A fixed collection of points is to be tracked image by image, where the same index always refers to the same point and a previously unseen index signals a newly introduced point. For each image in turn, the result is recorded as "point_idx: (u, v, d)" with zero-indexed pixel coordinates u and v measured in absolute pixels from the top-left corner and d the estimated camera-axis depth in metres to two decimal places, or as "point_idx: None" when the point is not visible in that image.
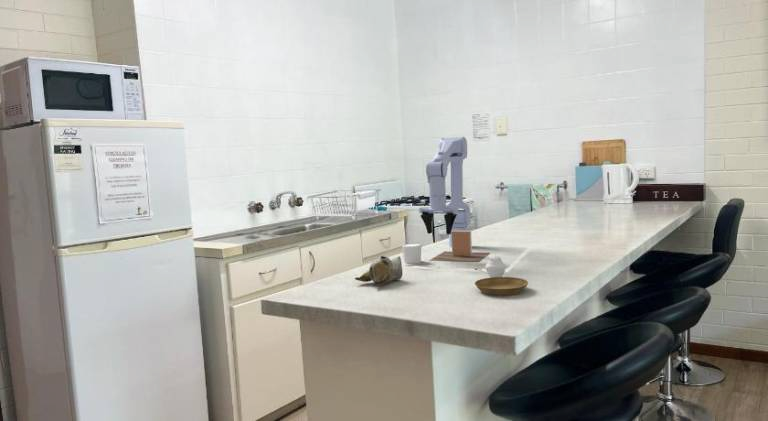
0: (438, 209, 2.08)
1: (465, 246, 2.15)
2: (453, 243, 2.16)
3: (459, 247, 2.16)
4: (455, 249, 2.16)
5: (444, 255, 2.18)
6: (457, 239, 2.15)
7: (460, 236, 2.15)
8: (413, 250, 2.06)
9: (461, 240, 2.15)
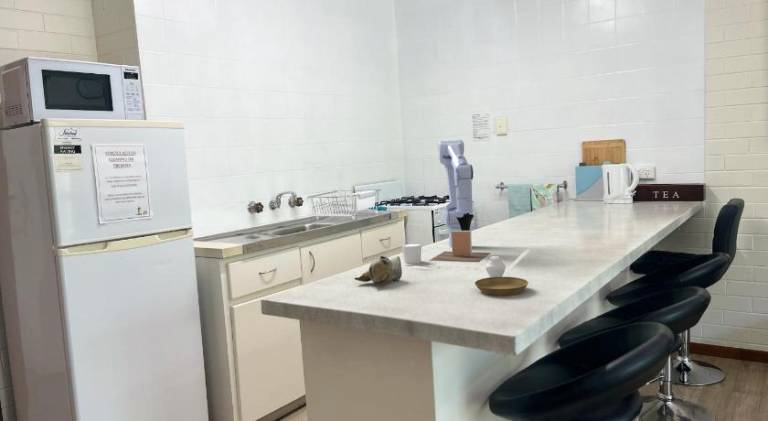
0: (456, 210, 2.19)
1: (465, 246, 2.15)
2: (453, 243, 2.16)
3: (459, 247, 2.16)
4: (455, 249, 2.16)
5: (444, 255, 2.18)
6: (457, 239, 2.15)
7: (460, 236, 2.15)
8: (413, 250, 2.06)
9: (461, 240, 2.15)
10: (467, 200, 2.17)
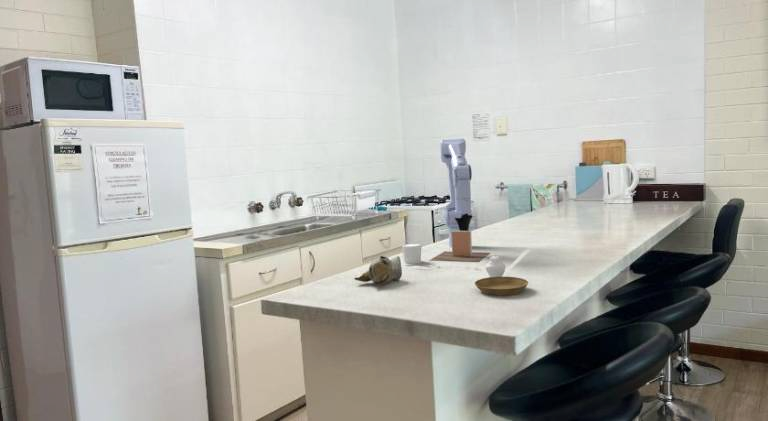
0: (455, 211, 2.18)
1: (465, 246, 2.15)
2: (453, 243, 2.16)
3: (459, 247, 2.16)
4: (455, 249, 2.16)
5: (444, 255, 2.18)
6: (457, 239, 2.15)
7: (460, 236, 2.15)
8: (413, 250, 2.06)
9: (461, 240, 2.15)
10: (466, 201, 2.15)
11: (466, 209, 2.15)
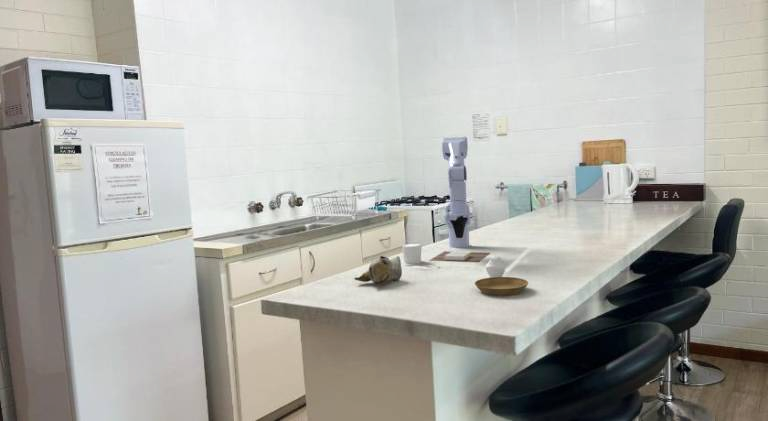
0: (450, 213, 2.12)
1: None
2: None
3: None
4: None
5: (444, 255, 2.18)
6: None
7: None
8: (413, 250, 2.06)
9: None
10: (461, 202, 2.09)
11: (461, 211, 2.10)
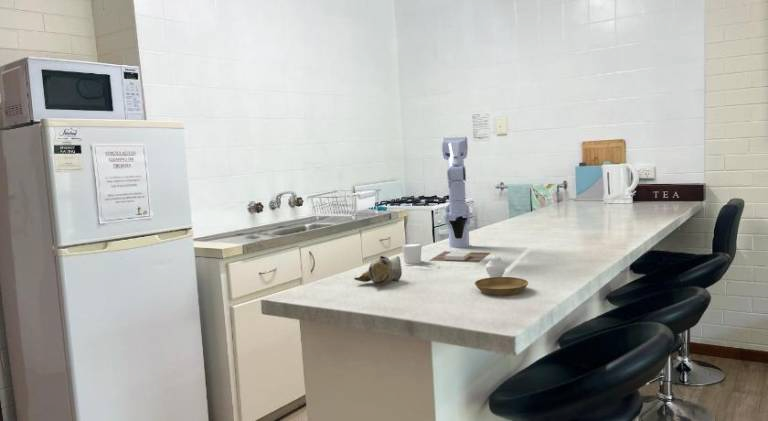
0: (449, 213, 2.11)
1: None
2: None
3: None
4: None
5: (444, 255, 2.18)
6: None
7: None
8: (413, 250, 2.06)
9: None
10: (460, 203, 2.08)
11: (461, 211, 2.09)
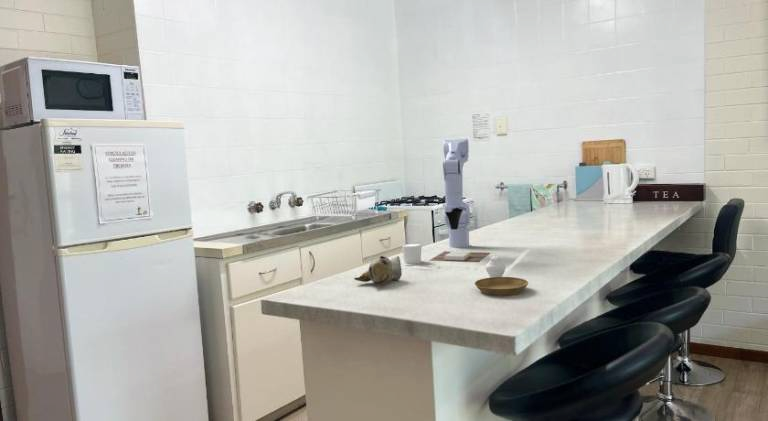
0: (445, 205, 2.18)
1: None
2: None
3: None
4: None
5: (444, 255, 2.18)
6: None
7: None
8: (413, 250, 2.06)
9: None
10: (456, 195, 2.15)
11: (456, 203, 2.15)
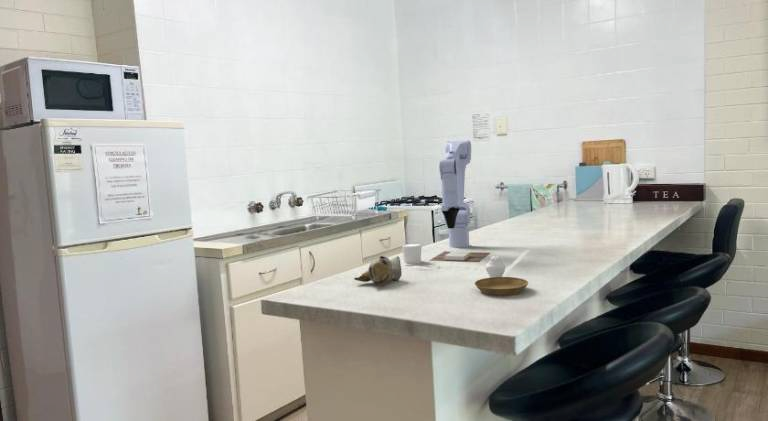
0: (442, 204, 2.20)
1: None
2: None
3: None
4: None
5: (444, 255, 2.18)
6: None
7: None
8: (413, 250, 2.06)
9: None
10: (452, 194, 2.17)
11: (453, 202, 2.17)
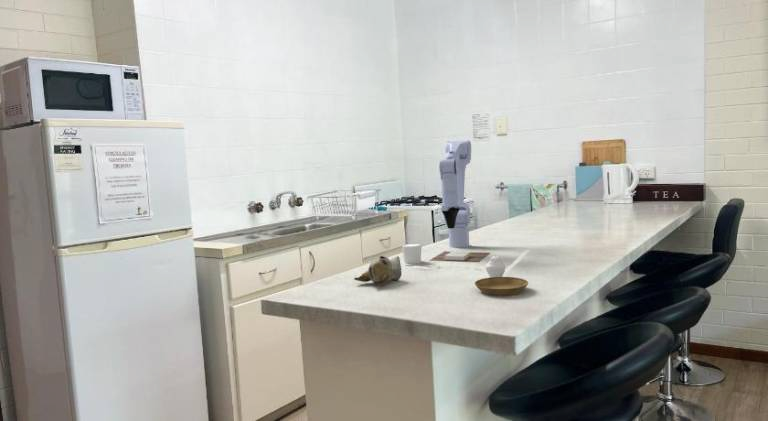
0: (442, 204, 2.20)
1: None
2: None
3: None
4: None
5: (444, 255, 2.18)
6: None
7: None
8: (413, 250, 2.06)
9: None
10: (452, 194, 2.17)
11: (453, 202, 2.17)
